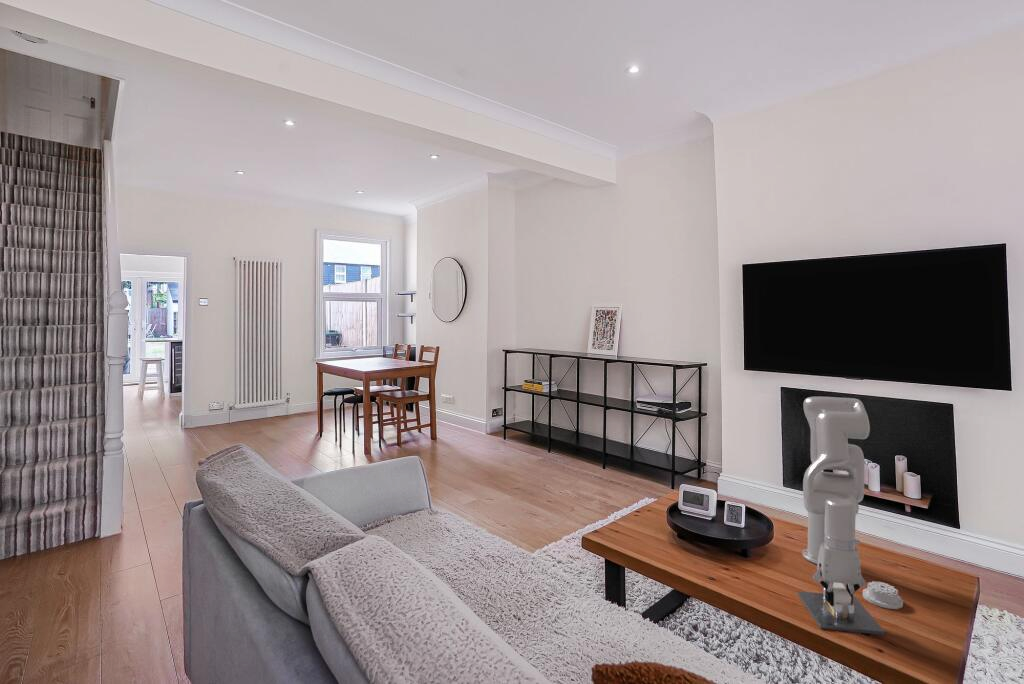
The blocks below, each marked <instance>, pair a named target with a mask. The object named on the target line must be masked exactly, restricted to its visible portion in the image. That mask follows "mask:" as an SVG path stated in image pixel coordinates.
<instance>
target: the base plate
mask: <svg viewBox="0 0 1024 684" xmlns="http://www.w3.org/2000/svg"><path fill="white" fill-rule="evenodd" d="M797 596H798V597H799V599H800V601H802V603H803V605H804V606H805V608H806V609H807V611H808V612H809V613H810V615H811V617H812V618H813V620H814V622H815V623H816V624H817V625H818V628H819V629H823V630H831V631H843V632H851V633H861V634H868V635H870V634H871V635H879V636H886V631H885V630H884V628H882V627H881V626H880V624H879V623H878V622H877V621H876V619H875V618H874V617H873V616H872V615H871V614H870V613H869V612H868V610H867V609H866V608H865V607H864V606H863V604H862V603H861V602H860V601H859V600H858V599H857V598H856V597H855V596H854V595H853V604H847V615H842V604H841V603H836V614H834V613H833V611H832V609H831V608H830V606H829V604H828V602H827V601H826V599H825V588H824V587H823V592H813V591H812V592H811V591H800V590H798V591H797Z"/></svg>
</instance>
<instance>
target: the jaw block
mask: <svg viewBox="0 0 1024 684" xmlns="http://www.w3.org/2000/svg"><path fill="white" fill-rule="evenodd" d="M832 592H833V593H834V605H833V606H831V605H830V604H829V603H828V604H829V606H830V608H831V609H832V611H833V613H834V614H836V603H841V604H842V615H847V604H851V596H850V594H849V593H848V591H847V589H846V585H845V584H844V583H835V582H834V583H833V588H832Z"/></svg>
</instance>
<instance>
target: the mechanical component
mask: <svg viewBox="0 0 1024 684" xmlns="http://www.w3.org/2000/svg"><path fill="white" fill-rule="evenodd" d="M862 597H863V598H864V599H865V600H866V602H867V601H868V603H870V604H872V605H874V606H876V607H881V608H883V609H884V608H885V609H889V610H900V609H901V608H903V606H904V601H903V598H901V596H899V590H898V589H896V588H895V586H893V585H890V584H889V583H885V582H881V581H873V580H872V582H871V581H870V582H869V581H868V583H867V588H864V589H862Z"/></svg>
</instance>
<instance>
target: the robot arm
mask: <svg viewBox="0 0 1024 684" xmlns="http://www.w3.org/2000/svg"><path fill="white" fill-rule="evenodd" d="M803 412H804V416H805V418H806V419H807V422H808V425H809V428H810V461H811V463H810V465H809V466H808V467H807V468H806V470H805V472H804V475H803V480H802V493H803V494H802V497H803V498H802V501H803V506H804V508H805V510H806V511H807V548H805V549H803V550H802V556H803V558H804V559H805V560H807V561H808V562H811V563H813V564H816V565H817V566H816V567H817V568H816V569H817V570H816V571H815V572H814V574H813V575H812V579H813V580H814V581H815V582H816V583H817V584H820V585H821V586H822V587H823V589H824V588H825V599H826V601H827V602H828V603H829V604H830V605H831V606H833V605H834V593H833V592H832V588H833V583H834V582H835V583H843V584H844V586H845V588H846V589H847V591H848V593H849V594H850V596H851V604H853V596H854V595H855V593H856V592H857V591H858V590H859V589H860V588H863V587H864V586H866V585H868V583H867V581H866V580H865V578H864V577H863V575H862V571H861V570H862V569H861V561H860V555H859V551H858V549H857V546H859V545H861V540H860V539H856V516H857V515H858V514H859V509H860V508H859V507H860V506H859V503H861V502H862V501H863V499H864V496H865V457H864V452H863V450H862V448H861V447H860V446H858V445H856V444H852V443H849V441H848V439H852V440H855V439H856V440H866V439H867V438H868V437H869V436H870V432H871V427H870V426H871V425H870V420H869V416H868V413H867V411H866V407H865V406H864V403H863V402H862V401H861V400H860V399H859V398H853V397H836V396H819V395H818V396H809V397H806V398H804V401H803ZM824 470H832V471H841V472H846V473H847V474H846V473H836V472H830V471H824ZM821 577H822V578H821Z"/></svg>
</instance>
